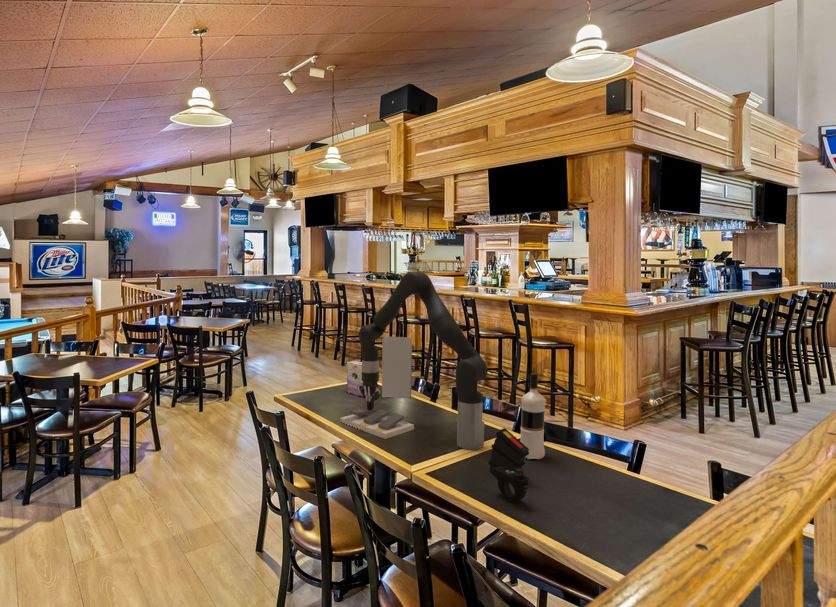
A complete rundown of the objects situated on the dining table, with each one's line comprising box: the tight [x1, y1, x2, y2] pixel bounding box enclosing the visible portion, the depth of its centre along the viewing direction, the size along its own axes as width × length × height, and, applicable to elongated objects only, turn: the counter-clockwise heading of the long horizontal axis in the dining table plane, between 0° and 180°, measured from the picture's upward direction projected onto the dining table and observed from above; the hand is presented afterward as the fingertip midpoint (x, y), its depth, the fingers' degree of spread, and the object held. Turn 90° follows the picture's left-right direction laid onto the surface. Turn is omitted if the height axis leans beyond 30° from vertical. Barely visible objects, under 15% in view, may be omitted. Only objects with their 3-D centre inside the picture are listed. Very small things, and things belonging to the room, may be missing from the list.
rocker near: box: [378, 413, 405, 430], centre depth 209 cm, size 5×10×1 cm, turn 137°
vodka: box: [519, 372, 546, 460], centre depth 185 cm, size 9×9×30 cm
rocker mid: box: [363, 408, 390, 424], centre depth 215 cm, size 5×10×1 cm, turn 137°
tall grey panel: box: [381, 336, 413, 399], centre depth 261 cm, size 14×6×30 cm, turn 84°
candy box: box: [346, 360, 365, 398], centre depth 264 cm, size 14×6×16 cm, turn 46°
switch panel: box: [339, 414, 415, 440], centre depth 216 cm, size 28×16×3 cm, turn 47°
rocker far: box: [349, 407, 376, 416], centre depth 222 cm, size 5×10×1 cm, turn 137°
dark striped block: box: [487, 427, 529, 475], centre depth 168 cm, size 4×13×15 cm, turn 45°
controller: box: [491, 466, 530, 502], centre depth 152 cm, size 4×12×10 cm, turn 39°
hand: (370, 409), depth 225 cm, fingers closed
